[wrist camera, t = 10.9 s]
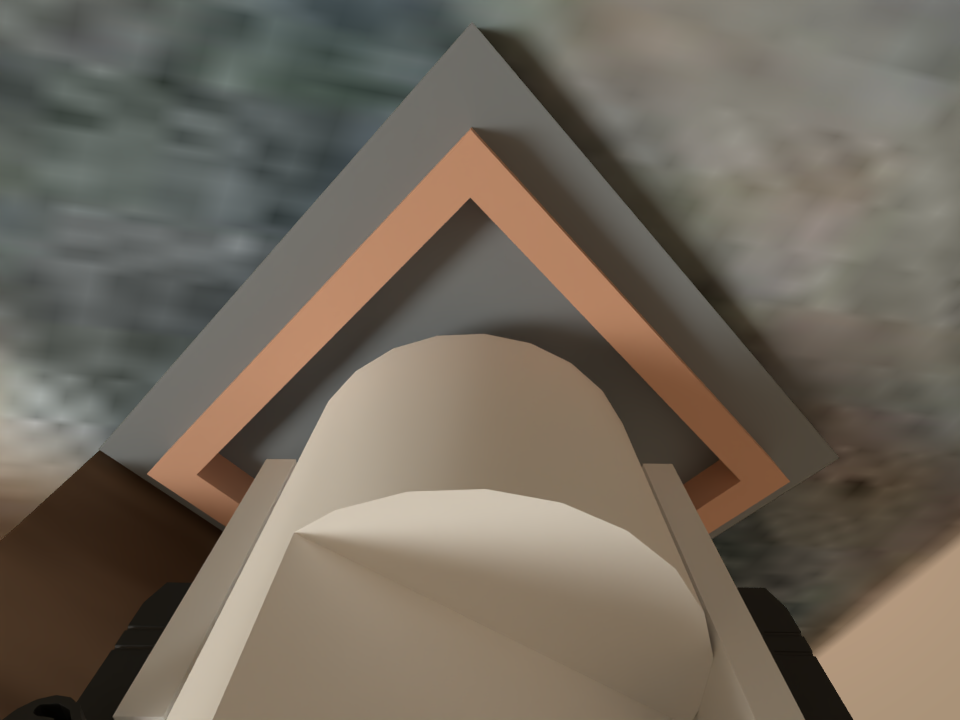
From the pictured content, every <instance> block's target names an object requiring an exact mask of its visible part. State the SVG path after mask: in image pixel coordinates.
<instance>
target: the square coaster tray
mask: <svg viewBox="0 0 960 720" xmlns="http://www.w3.org/2000/svg"><path fill="white" fill-rule="evenodd" d="M468 334H488V335H493V336H498V337H502V338H507V339H512V340H517V341H522V342H527V343H531V344H533V345H535V346H537V347H539V348H541V349H543V350H545V351H547V352H549V353H552V354H554V355H556V356H558V357H560V358H562V359H564V360H566V361H568V362H570V363H572V364H573V365H574V366H575V367H576V368H577V369H578V370H579V371H581V372H582V373H583V374H584V375H585V376H586V377H587V378H589V379H590V380H591V381H592V382H593V383H594V384H595V385H596V386H598V387H599V388H600V389H601V390H602V391H603V393H604V394H605V396H606V397H607V399H608V401H609V402H610V404H611V406H612V407H613V409H614V410H615V412H616V414H617V415H618V417H619V418H620V420H621V422H622V423H623V426H624V428H625V430H626V433H627V435H628V437H629V440H630V442H631V444H632V446H633V449H634V451H635V453H636V456H637V458H638V460H639V463H640V465H641V467H642V466H643V464H673V466H674V468H675V470H676V472H677V474H678V476H679V478H680V480H681V482H682V484H683V486H684V487H685V489H686V491H687V493H688V495H689V497H690V499H691V501H692V503H693V505H694V507H695V509H696V511H697V513H698V514H699V516H700V518H701V520H702V522H703V524H704V526H705V528H706V530H707V532H708V534H709V536H710V538H711V539H713V538H714V537H716V536H718V535H719V534H721V533H722V532H724V531H725V530H727V529H729V528H730V527H732V526H733V525H735V524H736V523H738V522H740V521H741V520H743V519H744V518H746V517H747V516H749V515H751V514H752V513H754V512H755V511H757V510H758V509H760V508H762V507H763V506H765V505H766V504H768V503H769V502H771V501H773V500H774V499H776V498H777V497H779V496H780V495H782V494H784V493H785V492H787V491H788V490H790V489H791V488H793V487H795V486H796V485H798V484H799V483H801V482H803V481H804V480H806V479H807V478H809V477H810V476H812V475H814V474H815V473H817V472H818V471H820V470H821V469H823V468H825V467H826V466H828V465H829V464H831V463H832V462H834V461H836V460H837V459H839V457H838V456H837V454H836V453H835V452H834V451H833V450H832V448H831V447H830V446H829V445H828V444H827V442H826V441H825V440H824V439H823V438H822V437H821V435H820V434H819V433H818V432H817V431H816V429H815V428H814V427H813V426H812V425H811V423H810V422H809V421H808V420H807V419H806V418H805V416H804V415H803V414H802V413H801V412H800V410H799V409H798V408H797V407H796V406H795V404H794V403H793V402H792V401H791V400H790V399H789V397H788V396H787V395H786V394H785V393H784V391H783V390H782V389H781V388H780V387H779V386H778V384H777V383H776V382H775V381H774V380H773V378H772V377H771V376H770V375H769V374H768V372H767V371H766V370H765V369H764V368H763V367H762V365H761V364H760V363H759V362H758V361H757V359H756V358H755V357H754V356H753V355H752V353H751V352H750V351H749V350H748V349H747V348H746V346H745V345H744V344H743V343H742V342H741V340H740V339H739V338H738V337H737V336H736V334H735V333H734V332H733V331H732V330H731V329H730V327H729V326H728V325H727V324H726V323H725V321H724V320H723V319H722V318H721V317H720V315H719V314H718V313H717V312H716V311H715V310H714V308H713V307H712V306H711V305H710V304H709V302H708V301H707V300H706V299H705V298H704V296H703V295H702V294H701V293H700V292H699V291H698V289H697V288H696V287H695V286H694V285H693V283H692V282H691V281H690V280H689V279H688V278H687V276H686V275H685V274H684V273H683V272H682V270H681V269H680V268H679V267H678V266H677V264H676V263H675V262H674V261H673V260H672V259H671V257H670V256H669V255H668V254H667V253H666V251H665V250H664V249H663V248H662V247H661V245H660V244H659V243H658V242H657V241H656V240H655V238H654V237H653V236H652V235H651V234H650V232H649V231H648V230H647V229H646V228H645V226H644V225H643V224H642V223H641V222H640V221H639V219H638V218H637V217H636V216H635V215H634V213H633V212H632V211H631V210H630V209H629V207H628V206H627V205H626V204H625V203H624V202H623V200H622V199H621V198H620V197H619V196H618V194H617V193H616V192H615V191H614V190H613V188H612V187H611V186H610V185H609V184H608V183H607V181H606V180H605V179H604V178H603V177H602V175H601V174H600V173H599V172H598V171H597V170H596V168H595V167H594V166H593V165H592V164H591V162H590V161H589V160H588V159H587V158H586V156H585V155H584V154H583V153H582V152H581V151H580V149H579V148H578V147H577V146H576V145H575V143H574V142H573V141H572V140H571V139H570V137H569V136H568V135H567V134H566V133H565V132H564V130H563V129H562V128H561V127H560V126H559V124H558V123H557V122H556V121H555V120H554V118H553V117H552V116H551V115H550V114H549V113H548V111H547V110H546V109H545V108H544V107H543V105H542V104H541V103H540V102H539V101H538V99H537V98H536V97H535V96H534V95H533V94H532V92H531V91H530V90H529V89H528V88H527V86H526V85H525V84H524V83H523V82H522V80H521V79H520V78H519V77H518V76H517V75H516V73H515V72H514V71H513V70H512V69H511V67H510V66H509V65H508V64H507V63H506V62H505V60H504V59H503V58H502V57H501V56H500V54H499V53H498V52H497V51H496V50H495V48H494V47H493V46H492V45H491V44H490V43H489V41H488V40H487V39H486V38H485V37H484V35H483V34H482V33H481V32H480V31H479V29H478V28H477V27H476V26H475V25H474V24H473V22H472V23H471V24H470V25H469V26H468V27H467V28H466V30H465V31H464V32H463V33H462V34H461V35H460V36H459V38H458V39H457V40H456V41H455V42H454V43H453V44H452V46H451V47H450V48H449V49H448V50H447V51H446V52H445V54H444V55H443V56H442V57H441V58H440V59H439V60H438V62H437V63H436V64H435V65H434V66H433V67H432V68H431V70H430V71H429V72H428V73H427V74H426V75H425V76H424V78H423V79H422V80H421V81H420V82H419V83H418V84H417V86H416V87H415V88H414V89H413V90H412V91H411V92H410V94H409V95H408V96H407V97H406V98H405V99H404V100H403V102H402V103H401V104H400V105H399V106H398V107H397V108H396V110H395V111H394V112H393V113H392V114H391V115H390V117H389V118H388V119H387V120H386V121H385V122H384V123H383V125H382V126H381V127H380V128H379V129H378V130H377V131H376V133H375V134H374V135H373V136H372V137H371V138H370V139H369V141H368V142H367V143H366V144H365V145H364V146H363V147H362V149H361V150H360V151H359V152H358V153H357V154H356V155H355V157H354V158H353V159H352V160H351V161H350V162H349V163H348V165H347V166H346V167H345V168H344V169H343V170H342V171H341V173H340V174H339V175H338V176H337V177H336V178H335V179H334V181H333V182H332V183H331V184H330V185H329V186H328V187H327V189H326V190H325V191H324V192H323V193H322V194H321V195H320V197H319V198H318V199H317V200H316V201H315V202H314V203H313V205H312V206H311V207H310V208H309V209H308V210H307V211H306V213H305V214H304V215H303V216H302V217H301V218H300V219H299V221H298V222H297V223H296V224H295V225H294V226H293V227H292V229H291V230H290V231H289V232H288V233H287V234H286V235H285V237H284V238H283V239H282V240H281V241H280V242H279V244H278V245H277V246H276V247H275V248H274V249H273V250H272V252H271V253H270V254H269V255H268V256H267V257H266V258H265V260H264V261H263V262H262V263H261V264H260V265H259V266H258V268H257V269H256V270H255V271H254V272H253V273H252V274H251V276H250V277H249V278H248V279H247V280H246V281H245V282H244V284H243V285H242V286H241V287H240V288H239V289H238V290H237V292H236V293H235V294H234V295H233V296H232V297H231V298H230V300H229V301H228V302H227V303H226V304H225V305H224V306H223V308H222V309H221V310H220V311H219V312H218V313H217V314H216V316H215V317H214V318H213V319H212V320H211V321H210V322H209V324H208V325H207V326H206V327H205V328H204V329H203V330H202V332H201V333H200V334H199V335H198V336H197V337H196V338H195V340H194V341H193V342H192V343H191V344H190V345H189V346H188V348H187V349H186V350H185V351H184V352H183V353H182V354H181V356H180V357H179V358H178V359H177V360H176V361H175V362H174V364H173V365H172V366H171V367H170V368H169V369H168V371H167V372H166V373H165V374H164V375H163V376H162V377H161V379H160V380H159V381H158V382H157V383H156V384H155V385H154V387H153V388H152V389H151V390H150V391H149V392H148V393H147V395H146V396H145V397H144V398H143V399H142V400H141V401H140V403H139V404H138V405H137V406H136V407H135V408H134V409H133V411H132V412H131V413H130V414H129V415H128V416H127V417H126V419H125V420H124V421H123V422H122V423H121V424H120V425H119V427H118V428H117V429H116V430H115V431H114V432H113V433H112V435H111V436H110V437H109V438H108V439H107V440H106V441H105V443H104V444H103V445H102V446H101V447H100V448H99V450H101V451H102V452H104V453H105V454H107V455H108V456H110V457H111V458H113V459H114V460H116V461H117V462H119V463H120V464H122V465H123V466H125V467H126V468H128V469H129V470H131V471H132V472H134V473H135V474H137V475H138V476H140V477H141V478H143V479H144V480H146V481H147V482H149V483H151V484H152V485H154V486H155V487H157V488H158V489H160V490H161V491H163V492H164V493H166V494H167V495H169V496H170V497H172V498H173V499H175V500H176V501H178V502H179V503H181V504H182V505H184V506H185V507H187V508H188V509H190V510H191V511H193V512H194V513H196V514H197V515H199V516H200V517H202V518H203V519H205V520H206V521H208V522H210V523H211V524H213V525H214V526H216V527H217V528H219V529H220V530H222V531H224V529H225V528H226V526H227V524H228V523H229V521H230V519H231V518H232V516H233V514H234V513H235V511H236V509H237V508H238V506H239V504H240V502H241V501H242V499H243V497H244V496H245V494H246V492H247V491H248V489H249V487H250V486H251V484H252V482H253V481H254V479H255V477H256V476H257V474H258V472H259V471H260V469H261V467H262V466H263V464H264V462H265V461H266V459H296V463H297V462H298V460H299V458H300V456H301V454H302V452H303V450H304V448H305V446H306V444H307V442H308V440H309V438H310V436H311V434H312V432H313V430H314V428H315V427H316V425H317V423H318V421H319V419H320V417H321V415H322V413H323V411H324V409H325V407H326V405H327V403H328V401H329V400H330V399H331V398H332V397H333V395H334V394H335V393H336V392H337V391H338V390H339V389H340V388H341V387H342V386H343V385H344V383H345V382H346V381H347V380H348V379H349V378H350V377H351V376H352V375H353V374H354V373H355V371H357V370H359V369H360V368H362V367H363V366H365V365H367V364H368V363H370V362H372V361H373V360H375V359H377V358H378V357H380V356H382V355H383V354H385V353H387V352H388V351H390V350H391V349H394V348H397V347H400V346H404V345H407V344H411V343H414V342H417V341H421V340H424V339H428V338H431V337H434V336H442V335H468Z"/></svg>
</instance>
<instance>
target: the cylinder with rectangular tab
mask: <svg viewBox="0 0 960 720" xmlns="http://www.w3.org/2000/svg"><path fill="white" fill-rule="evenodd" d="M712 662H713V653H712V648H711V643H710V638H709V633H708V628H707V623H706V618H705V613H704V611H703V608H702V606H701V604H700V601H699V599H698V597H697V595H696V592H695V590H694V588H693V585H692V583H691V581H690V578H689V576H688V574H687V571H686V569H685V567H684V564H683V562H682V560H681V557H680V555H679V553H678V551H677V548H676V546H675V544H674V541H673V539H672V537H671V534H670V532H669V530H668V527H667V525H666V523H665V520H664V518H663V516H662V514H661V511H660V509H659V507H658V504H657V502H656V500H655V497H654V495H653V493H652V490H651V488H650V486H649V483H648V481H647V479H646V477H645V474H644V472H643V470H642V467H641V465H640V463H639V460H638V458H637V456H636V453H635V451H634V449H633V446H632V444H631V442H630V440H629V437H628V435H627V433H626V430H625V428H624V426H623V423H622V422H621V420H620V418H619V417H618V415H617V414H616V412H615V410H614V409H613V407H612V406H611V404H610V402H609V401H608V399H607V397H606V396H605V394H604V393H603V391H602V390H601V389H600V388H599V387H598V386H596V385H595V384H594V383H593V382H592V381H591V380H590V379H589V378H587V377H586V376H585V375H584V374H583V373H582V372H581V371H579V370H578V369H577V368H576V367H575V366H574V365H573V364H572V363H570V362H568V361H566V360H564V359H562V358H560V357H558V356H556V355H554V354H552V353H549V352H547V351H545V350H543V349H541V348H539V347H537V346H535V345H533V344H531V343H527V342H522V341H517V340H512V339H507V338H502V337H498V336H493V335H488V334H468V335H442V336H434V337H431V338H428V339H424V340H421V341H417V342H414V343H411V344H407V345H404V346H400V347H397V348H394V349H391V350H390V351H388V352H387V353H385V354H383V355H382V356H380V357H378V358H377V359H375V360H373V361H372V362H370V363H368V364H367V365H365V366H363V367H362V368H360V369H359V370H357V371H355V373H354V374H353V375H352V376H351V377H350V378H349V379H348V380H347V381H346V382H345V383H344V385H343V386H342V387H341V388H340V389H339V390H338V391H337V392H336V393H335V394H334V395H333V397H332V398H331V399H330V400H329V401H328V403H327V405H326V407H325V409H324V411H323V413H322V415H321V417H320V419H319V421H318V423H317V425H316V427H315V428H314V430H313V432H312V434H311V436H310V438H309V440H308V442H307V444H306V446H305V448H304V450H303V452H302V454H301V456H300V458H299V460H298V462H297V464H296V466H295V468H294V470H293V472H292V474H291V476H290V478H289V480H288V482H287V483H286V485H285V487H284V489H283V491H282V493H281V495H280V497H279V499H278V501H277V503H276V505H275V507H274V509H273V511H272V513H271V515H270V517H269V519H268V521H267V523H266V525H265V527H264V529H263V531H262V533H261V535H260V537H259V538H258V540H257V542H256V544H255V546H254V548H253V550H252V552H251V554H250V556H249V558H248V560H247V562H246V564H245V566H244V568H243V570H242V572H241V574H240V576H239V578H238V580H237V582H236V584H235V586H234V588H233V590H232V592H231V593H230V595H229V597H228V599H227V601H226V603H225V605H224V607H223V609H222V611H221V613H220V615H219V617H218V619H217V621H216V623H215V625H214V627H213V629H212V631H211V633H210V635H209V637H208V639H207V641H206V643H205V645H204V647H203V648H202V650H201V652H200V654H199V656H198V658H197V660H196V662H195V664H194V666H193V668H192V670H191V672H190V674H189V676H188V678H187V680H186V682H185V684H184V686H183V688H182V690H181V692H180V694H179V696H178V698H177V700H176V702H175V703H174V705H173V707H172V709H171V711H170V713H169V715H168V717H167V719H166V720H693V718H694V717H695V715H696V714H697V712H698V710H699V707H700V703H701V700H702V696H703V693H704V689H705V686H706V682H707V679H708V675H709V672H710V668H711V665H712Z"/></svg>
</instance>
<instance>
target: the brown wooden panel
mask: <svg viewBox="0 0 960 720" xmlns="http://www.w3.org/2000/svg"><path fill="white" fill-rule="evenodd" d="M222 533H223V531H222V530H220V529H219V528H217V527H216V526H214V525H213V524H211V523H210V522H208V521H206V520H205V519H203V518H202V517H200V516H199V515H197V514H196V513H194V512H193V511H191V510H190V509H188V508H187V507H185V506H184V505H182V504H181V503H179V502H178V501H176V500H175V499H173V498H172V497H170V496H169V495H167V494H166V493H164V492H163V491H161V490H160V489H158V488H157V487H155V486H154V485H152V484H151V483H149V482H147V481H146V480H144V479H143V478H141V477H140V476H138V475H137V474H135V473H134V472H132V471H131V470H129V469H128V468H126V467H125V466H123V465H122V464H120V463H119V462H117V461H116V460H114V459H113V458H111V457H110V456H108V455H107V454H105V453H104V452H102V451H101V450H99V451H98V452H97V453H96V454H95V455H94V456H93V457H92V458H91V459H90V460H88V461H87V462H86V463H85V464H84V465H83V466H82V467H81V468H80V469H79V470H78V471H76V472H75V473H74V474H73V475H72V476H71V477H70V478H69V479H68V480H67V481H66V482H64V483H63V484H62V485H61V486H60V487H59V488H58V489H57V490H56V491H55V492H54V493H52V494H51V495H50V496H49V497H48V498H47V499H46V500H45V501H44V502H43V503H42V504H40V505H39V506H38V507H37V508H36V509H35V510H34V511H33V512H32V513H31V514H29V515H28V516H27V517H26V518H25V519H24V520H23V521H22V522H21V523H20V524H19V525H17V526H16V527H15V528H14V529H13V530H12V531H11V532H10V533H9V534H8V535H7V536H5V537H4V538H3V539H2V540H1V541H0V720H2V719H4V718H5V717H6V716H8V715H9V714H10V713H12V712H13V711H14V710H16V709H18V708H20V707H22V706H24V705H26V704H28V703H30V702H32V701H34V700H36V699H40V698H45V697H49V696H54V695H59V696H66V697H71V698H72V699H73V700H75V701H76V702H77V701H78V699H79V698H80V696H81V695H82V693H83V692H84V690H85V689H86V687H87V686H88V684H89V683H90V681H91V680H92V678H93V677H94V675H95V674H96V672H97V671H98V669H99V668H100V666H101V665H102V663H103V662H104V660H105V659H106V657H107V656H108V655H109V653H110V652H111V650H114V648H115V644H116V643H117V641H118V640H119V638H120V637H121V635H122V634H123V632H124V631H125V630H127V629H128V625H129V623H130V622H131V620H132V619H133V617H134V616H135V614H136V613H137V611H138V610H139V608H140V607H141V605H142V604H143V602H145V601H146V600H147V599H148V598H149V597H150V596H152V595H153V594H154V593H155V592H156V591H157V590H159V589H160V588H161V587H162V586H163V585H164V584H165V583H167V582H182V583H193V581H194V579H195V578H196V576H197V574H198V573H199V571H200V569H201V568H202V566H203V564H204V563H205V561H206V559H207V558H208V556H209V554H210V553H211V551H212V549H213V548H214V546H215V544H216V543H217V541H218V539H219V538H220V536H221V534H222Z"/></svg>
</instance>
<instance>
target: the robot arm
mask: <svg viewBox="0 0 960 720" xmlns="http://www.w3.org/2000/svg"><path fill="white" fill-rule="evenodd" d="M296 464H297V463H296V459H266V461H265V462H264V464H263V466H262V467H261V469H260V471H259V472H258V474H257V476H256V477H255V479H254V481H253V482H252V484H251V486H250V487H249V489H248V491H247V492H246V494H245V496H244V497H243V499H242V501H241V502H240V504H239V506H238V508H237V509H236V511H235V513H234V514H233V516H232V518H231V519H230V521H229V523H228V524H227V526H226V528H225V529H224V531H223V533H222V534H221V536H220V538H219V539H218V541H217V543H216V544H215V546H214V548H213V549H212V551H211V553H210V554H209V556H208V558H207V559H206V561H205V563H204V564H203V566H202V568H201V569H200V571H199V573H198V574H197V576H196V578H195V579H194V581H193V583H182V582H167V583H165V584H164V585H163V586H162V587H161V588H160V589H159V590H157V591H156V592H155V593H154V594H153V595H152V596H150V597H149V598H148V599H147V600H146V601H145V602H143V604H142V605H141V607H140V608H139V610H138V611H137V613H136V614H135V616H134V617H133V619H132V620H131V622H130V623H129V625H128V629H127V630H125V631H124V632H123V634H122V635H121V637H120V638H119V640H118V641H117V643H116V644H115V648H114V650H111V652H110V653H109V655H108V656H107V657H106V659H105V660H104V662H103V663H102V665H101V666H100V668H99V669H98V671H97V672H96V674H95V675H94V677H93V678H92V680H91V681H90V683H89V684H88V686H87V687H86V689H85V690H84V692H83V693H82V695H81V696H80V698H79V699H78V701H77V702H76V701H75V700H73V699H72V698H71V697H66V696H59V695H54V696H49V697H45V698H40V699H36V700H34V701H32V702H30V703H28V704H26V705H24V706H22V707H20V708H18V709H16V710H14V711H13V712H12V713H10V714H9V715H8V716H6V717H5V718H4V719H2V720H166V719H167V717H168V715H169V713H170V711H171V709H172V707H173V705H174V703H175V702H176V700H177V698H178V696H179V694H180V692H181V690H182V688H183V686H184V684H185V682H186V680H187V678H188V676H189V674H190V672H191V670H192V668H193V666H194V664H195V662H196V660H197V658H198V656H199V654H200V652H201V650H202V648H203V647H204V645H205V643H206V641H207V639H208V637H209V635H210V633H211V631H212V629H213V627H214V625H215V623H216V621H217V619H218V617H219V615H220V613H221V611H222V609H223V607H224V605H225V603H226V601H227V599H228V597H229V595H230V593H231V592H232V590H233V588H234V586H235V584H236V582H237V580H238V578H239V576H240V574H241V572H242V570H243V568H244V566H245V564H246V562H247V560H248V558H249V556H250V554H251V552H252V550H253V548H254V546H255V544H256V542H257V540H258V538H259V537H260V535H261V533H262V531H263V529H264V527H265V525H266V523H267V521H268V519H269V517H270V515H271V513H272V511H273V509H274V507H275V505H276V503H277V501H278V499H279V497H280V495H281V493H282V491H283V489H284V487H285V485H286V483H287V482H288V480H289V478H290V476H291V474H292V472H293V470H294V468H295V466H296ZM642 470H643V472H644V474H645V477H646V479H647V481H648V483H649V486H650V488H651V490H652V493H653V495H654V497H655V500H656V502H657V504H658V507H659V509H660V511H661V514H662V516H663V518H664V520H665V523H666V525H667V527H668V530H669V532H670V534H671V537H672V539H673V541H674V544H675V546H676V548H677V551H678V553H679V555H680V557H681V560H682V562H683V564H684V567H685V569H686V571H687V574H688V576H689V578H690V581H691V583H692V585H693V588H694V590H695V592H696V595H697V597H698V599H699V601H700V604H701V606H702V608H703V611H704V613H705V618H706V623H707V628H708V633H709V638H710V643H711V648H712V653H713V662H712V665H711V668H710V672H709V675H708V679H707V682H706V686H705V689H704V693H703V696H702V700H701V703H700V707H699V710H698V712H697V714H696V715H695V717H694V718H693V720H853V719H852V717H851V715H850V714H849V712H848V710H847V708H846V707H845V705H844V704H843V702H842V700H841V698H840V697H839V695H838V693H837V692H836V690H835V688H834V687H833V685H832V683H831V682H830V680H829V678H828V677H827V675H826V673H825V672H824V670H823V668H822V667H821V665H820V663H819V662H818V660H817V658H816V657H814V656H813V654H812V650H811V648H810V646H809V645H808V643H807V641H806V640H805V638H804V637H802V636H801V631H800V630H799V628H798V626H797V625H796V623H795V621H794V620H793V618H792V616H791V615H790V613H789V611H788V610H787V608H786V607H785V606H784V605H783V604H782V603H780V602H779V601H778V600H777V599H776V598H775V597H774V596H773V595H772V594H771V593H770V592H769V591H768V590H767V589H765V588H736V586H735V584H734V582H733V580H732V578H731V576H730V574H729V572H728V570H727V568H726V566H725V564H724V563H723V561H722V559H721V557H720V555H719V553H718V551H717V549H716V547H715V545H714V543H713V541H712V539H711V538H710V536H709V534H708V532H707V530H706V528H705V526H704V524H703V522H702V520H701V518H700V516H699V514H698V513H697V511H696V509H695V507H694V505H693V503H692V501H691V499H690V497H689V495H688V493H687V491H686V489H685V487H684V486H683V484H682V482H681V480H680V478H679V476H678V474H677V472H676V470H675V468H674V466H673V464H643V466H642Z"/></svg>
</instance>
